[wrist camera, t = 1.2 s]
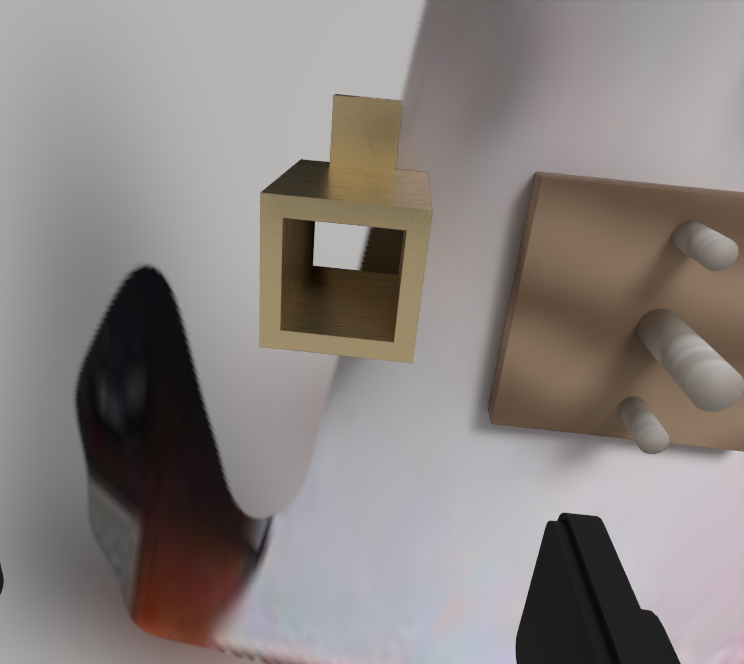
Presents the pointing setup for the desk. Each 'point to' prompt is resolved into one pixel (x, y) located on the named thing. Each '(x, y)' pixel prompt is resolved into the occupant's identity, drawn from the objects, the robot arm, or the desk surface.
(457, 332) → the desk surface
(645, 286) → the post dock
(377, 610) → the desk surface
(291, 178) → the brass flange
